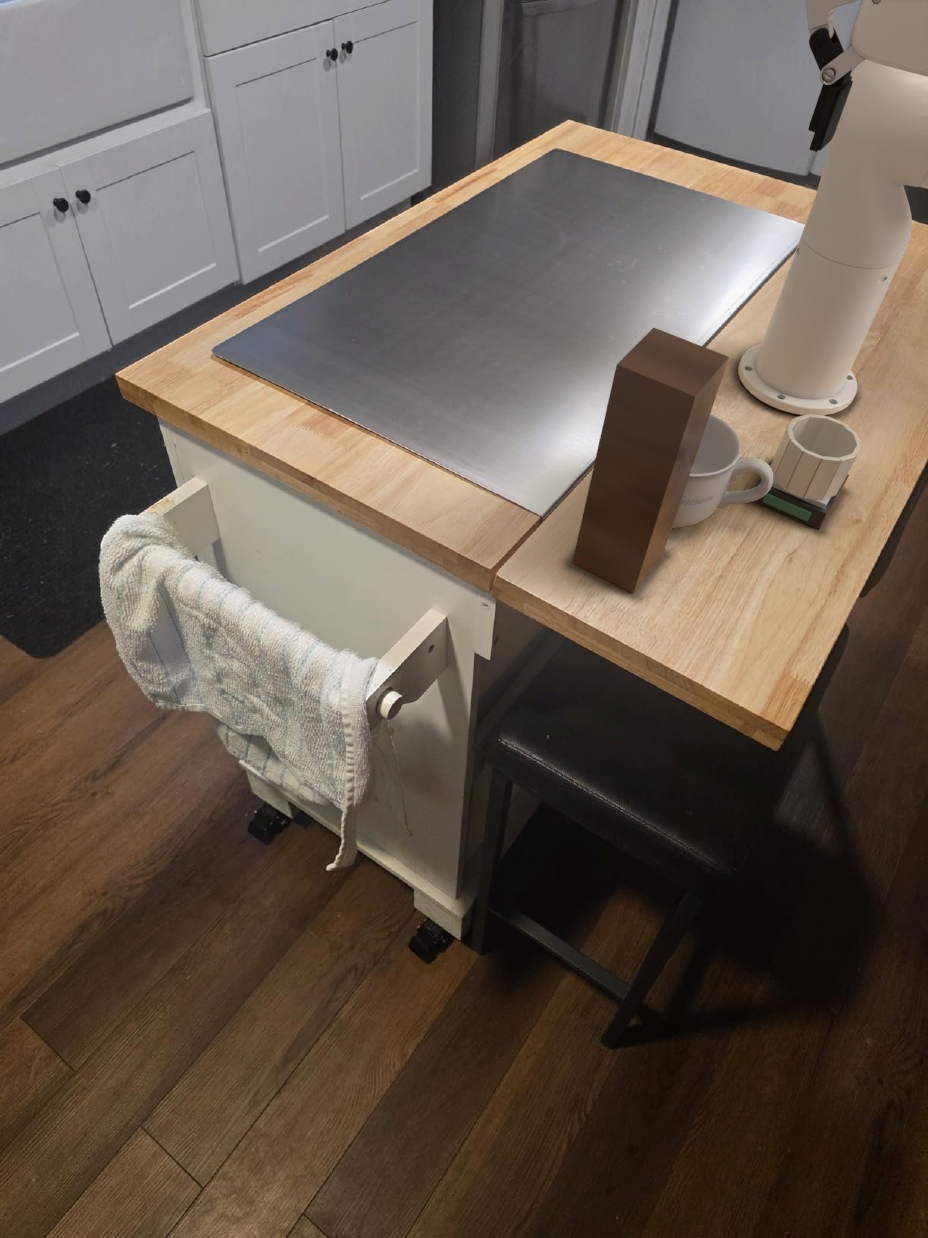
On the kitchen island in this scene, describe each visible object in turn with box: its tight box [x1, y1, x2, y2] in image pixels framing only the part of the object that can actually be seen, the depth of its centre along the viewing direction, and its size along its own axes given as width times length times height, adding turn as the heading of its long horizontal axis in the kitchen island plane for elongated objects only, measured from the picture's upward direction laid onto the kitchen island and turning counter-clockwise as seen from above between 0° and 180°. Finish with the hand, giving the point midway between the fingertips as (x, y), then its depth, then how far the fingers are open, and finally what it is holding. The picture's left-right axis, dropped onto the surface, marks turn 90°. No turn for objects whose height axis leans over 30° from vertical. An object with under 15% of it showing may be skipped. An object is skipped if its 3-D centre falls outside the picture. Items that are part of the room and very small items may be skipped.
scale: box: [754, 459, 850, 530], centre depth 82 cm, size 7×7×3 cm
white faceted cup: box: [770, 414, 863, 500], centre depth 79 cm, size 6×6×5 cm
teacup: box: [672, 413, 773, 529], centre depth 78 cm, size 14×11×8 cm
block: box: [571, 327, 730, 594], centre depth 69 cm, size 6×6×20 cm
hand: (887, 165), depth 60 cm, fingers open, 9 cm apart
